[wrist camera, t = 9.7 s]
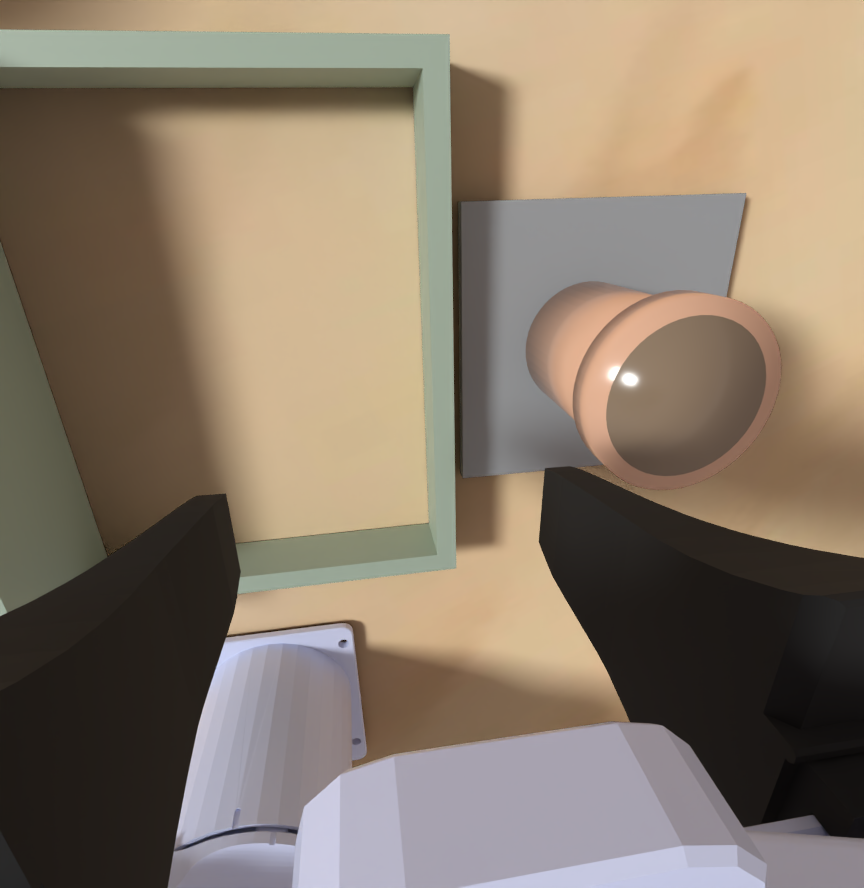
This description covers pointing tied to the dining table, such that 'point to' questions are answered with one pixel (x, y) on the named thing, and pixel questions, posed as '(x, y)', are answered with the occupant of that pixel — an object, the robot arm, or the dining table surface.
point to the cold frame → (428, 71)
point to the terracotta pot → (656, 378)
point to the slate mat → (541, 277)
